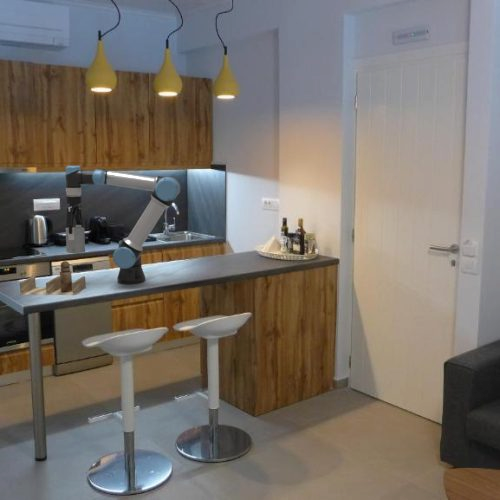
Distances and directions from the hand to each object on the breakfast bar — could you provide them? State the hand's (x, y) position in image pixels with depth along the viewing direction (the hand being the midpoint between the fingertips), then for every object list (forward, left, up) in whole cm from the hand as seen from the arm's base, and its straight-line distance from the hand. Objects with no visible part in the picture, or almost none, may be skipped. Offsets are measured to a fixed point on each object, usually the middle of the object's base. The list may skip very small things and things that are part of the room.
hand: (75, 238), depth 324 cm
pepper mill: (+2, +12, -25) cm, 28 cm away
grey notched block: (0, 0, -7) cm, 7 cm away
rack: (+8, +12, -26) cm, 30 cm away
